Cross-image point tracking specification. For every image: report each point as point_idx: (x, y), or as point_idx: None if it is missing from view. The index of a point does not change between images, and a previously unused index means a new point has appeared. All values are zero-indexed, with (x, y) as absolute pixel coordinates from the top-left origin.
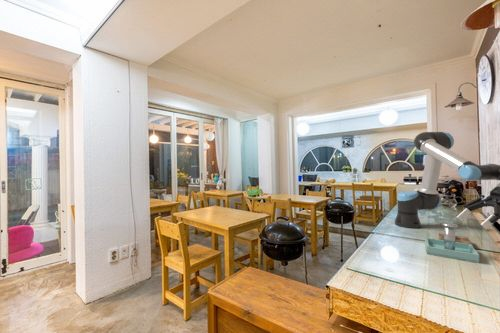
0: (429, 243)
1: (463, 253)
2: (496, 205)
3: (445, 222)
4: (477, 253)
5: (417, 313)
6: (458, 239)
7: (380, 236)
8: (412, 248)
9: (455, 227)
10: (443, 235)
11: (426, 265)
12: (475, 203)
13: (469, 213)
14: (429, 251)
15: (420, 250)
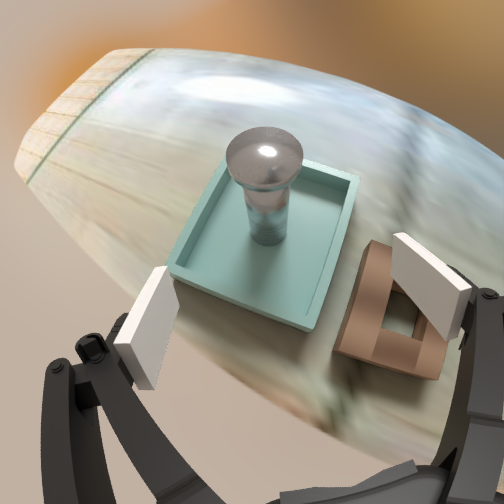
0: (343, 197)
1: (185, 228)
2: (156, 483)
3: (301, 148)
4: (180, 274)
5: (48, 109)
6: (419, 336)
7: (384, 106)
8: None
9: (228, 170)
10: None
11: (156, 135)
12: (500, 365)
13: (436, 324)
14: None
15: None
